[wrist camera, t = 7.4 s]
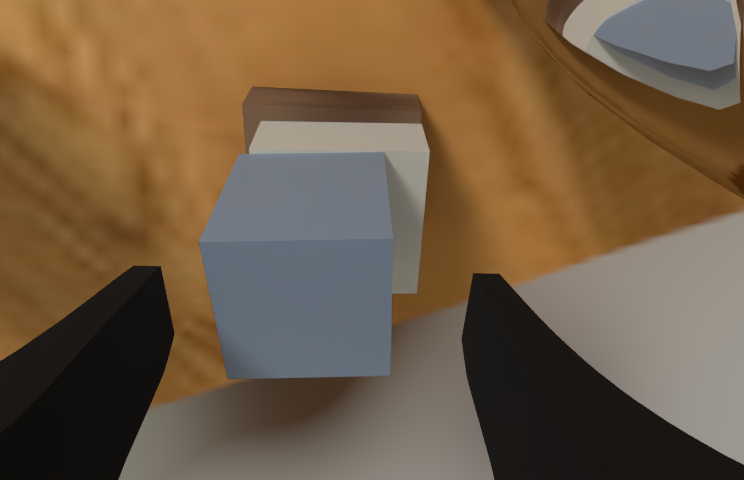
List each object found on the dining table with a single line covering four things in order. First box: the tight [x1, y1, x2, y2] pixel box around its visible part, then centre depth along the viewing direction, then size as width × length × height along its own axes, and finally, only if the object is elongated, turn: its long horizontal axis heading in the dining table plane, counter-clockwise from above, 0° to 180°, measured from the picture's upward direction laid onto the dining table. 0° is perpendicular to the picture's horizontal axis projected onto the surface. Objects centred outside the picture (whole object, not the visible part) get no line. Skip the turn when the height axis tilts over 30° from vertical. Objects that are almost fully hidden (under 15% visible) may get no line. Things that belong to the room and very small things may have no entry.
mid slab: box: [249, 121, 430, 294], centre depth 17 cm, size 5×5×2 cm
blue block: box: [199, 152, 393, 379], centre depth 14 cm, size 4×4×4 cm
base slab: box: [242, 87, 422, 154], centre depth 19 cm, size 6×6×2 cm
